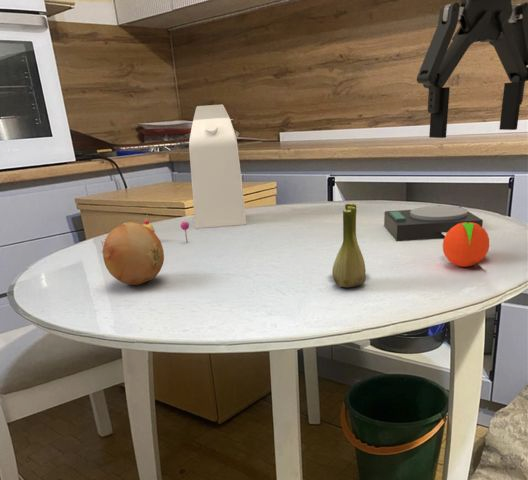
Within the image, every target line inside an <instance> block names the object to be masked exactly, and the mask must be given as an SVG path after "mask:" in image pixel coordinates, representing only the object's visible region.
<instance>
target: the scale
mask: <svg viewBox="0 0 528 480" xmlns="http://www.w3.org/2000/svg"><path fill="white" fill-rule="evenodd" d="M383 218H384V219H383V226H384V227H385V228H386V229H387V231H388V232H389V233H390V235H391V236H392V237H393V238H394V239H395V240H396V242H402V241H416V240H433V239H444V237H445V234H444V233H447V232H448V231H449V230H450V229H451V228H452V227H454V226H455V225H457V224H459V223H463V222H468V221H469V222H472V223H476V224H478V225H480V226H481V227H482V228H483V223H484V220H483V219H482V218H480V217H479V216H477V215H475V214H473V213H472V212H470V211H468V209H466V208H464V207H463V206H454V205H428V206H427V205H426V206H420V207H415V208H413V209H402V210H401V209H399V210H385V211H384V217H383Z"/></svg>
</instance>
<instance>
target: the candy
mask: <svg viewBox="0 0 528 480" xmlns="http://www.w3.org/2000/svg"><path fill="white" fill-rule="evenodd" d="M148 214H149V213H146V217H145V219H144V220H143V225H144V226H146V227H147V228H149V229H150V230H152V231H153V232H154V233H155V234H156V231H155V227H154V225H153V224H151V223H150V221H149V219H148ZM189 228H190V224H189V223H188V221H182V222H181V223H180V229H182V230H183V231H184V235H185V243H189V242H188V235H187V234H188V233H187V231H188V230H189ZM105 240H106V238H103V237H101V238H100V243H101V246H102V248H103V246H104V243H105Z"/></svg>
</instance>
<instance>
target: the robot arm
mask: <svg viewBox="0 0 528 480" xmlns="http://www.w3.org/2000/svg"><path fill="white" fill-rule="evenodd" d="M438 14H439V15H438V23H437V26H436V28H435V31H434V34H433V36H432V39H431V41H430V44H429V46H428V49H427V51H426V53H425V55H424V59H423V61H422V64H421V67H420V68H419V70H418V74H417V76H416V82H417V84H421V85H423V88H425V89H428V96H427V112H428V114H430V120H429V135H428V138H429V139H431V138H433V139H445V138H447V132H448V131H447V129H448V119H449V118H448V116H449V104H450V103H449V102H450V89H451V88H450V86H446V87H445V85H446V83H447V82H448V81H449V79H450V77H451V75H452V74H453V72H454V71H455V69H456V68H457V66H458V65H459V63H460V62H461V60H462V59H463V57H464V55H465V54H466V52H467V51H468V49H469V48H470V46H471V45H473V44H474V43H479V42H480V43H489V45H491V46H493V48H494V50H495V52H496V55H497V57H498V58H499V61H500V63H501V65H502V67H503V69H504V71H505V73H506V75H507V77H508V78H507V79H508V80H509V81H510V82H504V83H503V93H502V102H501V112H500V119H499V120H500V122H499V127H498V129H499V130H500V131H501V130H502V131H515V130H518V123H519V117H520V109H521V105H522V103H523V100H524V93H525V86H526V82H528V2H527V1H525V2H522V3H517V4H513V3H512V0H460V3H459V2H452V3H449V4H445V5H442V6H441V7H440V9H439V13H438ZM458 23H459V25H460V26H459V27H458V29H457V25H458ZM456 29H457V30H456Z"/></svg>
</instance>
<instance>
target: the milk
mask: <svg viewBox="0 0 528 480" xmlns="http://www.w3.org/2000/svg"><path fill="white" fill-rule="evenodd" d="M188 141H189V142H188V148H189V165H190V177H191V191H192V192H191V193H192V205H193V206H192V207H193V219H194V220H193V221H194V229H205V228H206V229H207V228H219V227H220V228H221V227H233V226H246V225H247V213H246V212H247V211H246V204H245V203H246V202H245V197H244V196H245V195H244V188H243V181H242V180H243V178H242V173H241V163H240V154H239V147H238V139H237V134H236V131H235V129H234V126H233V122H232V120H231V118H230V115H229V114H228V111H227V109H226V107H225V106H224V104H211V105H210V104H209V105H197V106H196V107H195V112H194V115H193V120H192V124H191V128H190V134H189V140H188Z"/></svg>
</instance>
